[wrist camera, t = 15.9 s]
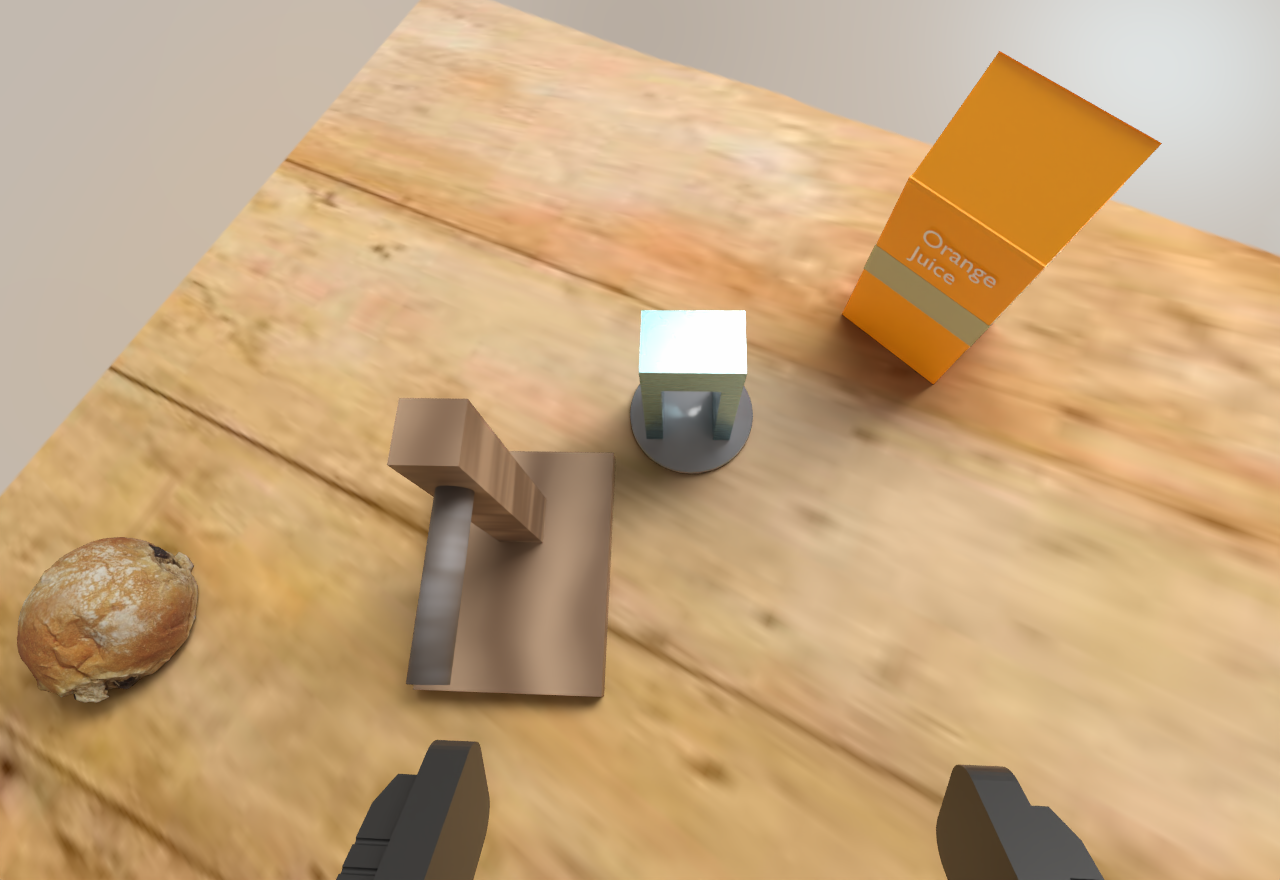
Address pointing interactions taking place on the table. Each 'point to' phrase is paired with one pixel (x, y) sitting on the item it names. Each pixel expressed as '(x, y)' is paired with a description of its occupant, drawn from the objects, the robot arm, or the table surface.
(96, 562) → the bread roll
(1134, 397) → the table surface
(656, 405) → the c link
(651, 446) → the coaster
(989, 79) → the orange juice
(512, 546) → the stand
